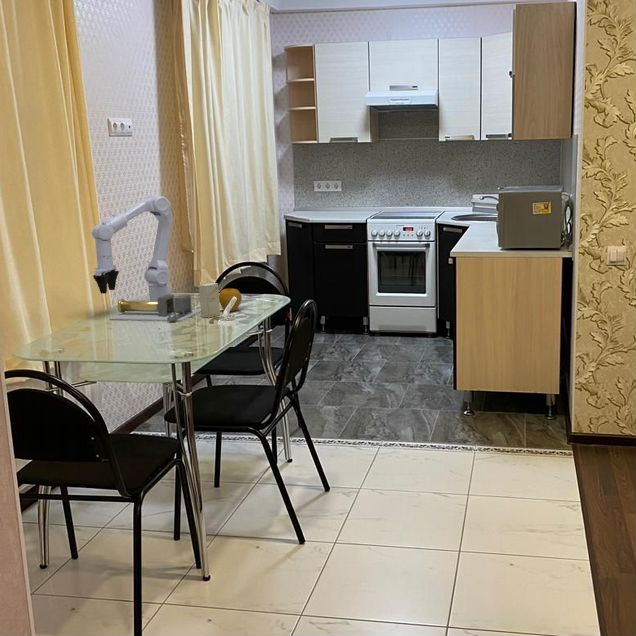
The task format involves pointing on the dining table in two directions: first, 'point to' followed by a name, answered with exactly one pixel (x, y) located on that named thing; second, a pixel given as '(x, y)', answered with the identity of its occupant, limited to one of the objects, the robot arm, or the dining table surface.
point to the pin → (139, 306)
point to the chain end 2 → (181, 307)
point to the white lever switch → (228, 315)
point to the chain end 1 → (163, 307)
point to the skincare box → (209, 300)
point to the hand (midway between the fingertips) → (107, 291)
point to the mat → (148, 316)
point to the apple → (229, 298)
